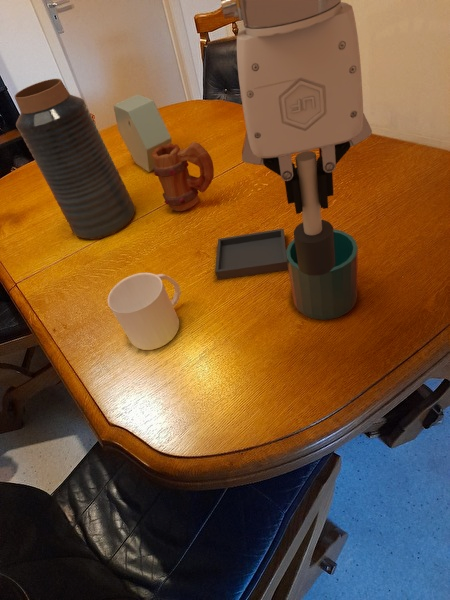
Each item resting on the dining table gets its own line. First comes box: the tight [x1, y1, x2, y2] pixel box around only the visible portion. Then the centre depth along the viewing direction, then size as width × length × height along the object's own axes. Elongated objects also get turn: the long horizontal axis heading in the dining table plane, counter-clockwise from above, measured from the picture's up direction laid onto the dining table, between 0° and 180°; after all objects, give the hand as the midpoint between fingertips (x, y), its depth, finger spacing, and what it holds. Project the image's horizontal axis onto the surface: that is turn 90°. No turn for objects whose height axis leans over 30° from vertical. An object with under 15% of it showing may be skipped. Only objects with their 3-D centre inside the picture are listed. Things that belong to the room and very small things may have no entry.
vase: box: [14, 78, 136, 240], centre depth 90 cm, size 16×16×32 cm
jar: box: [286, 228, 359, 321], centre depth 63 cm, size 10×10×10 cm
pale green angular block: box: [112, 94, 173, 173], centre depth 113 cm, size 17×8×21 cm
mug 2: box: [152, 141, 215, 212], centre depth 92 cm, size 15×8×15 cm, turn 70°
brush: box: [293, 150, 335, 276], centre depth 44 cm, size 4×4×14 cm
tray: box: [214, 228, 289, 281], centre depth 77 cm, size 13×10×2 cm
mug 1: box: [107, 272, 182, 351], centre depth 67 cm, size 12×9×9 cm
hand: (310, 203), depth 43 cm, fingers closed on brush, 2 cm apart
